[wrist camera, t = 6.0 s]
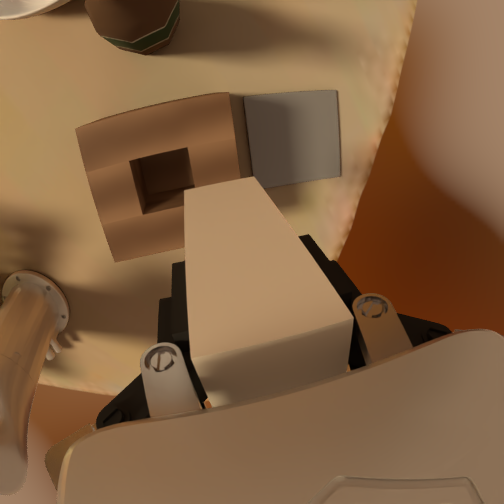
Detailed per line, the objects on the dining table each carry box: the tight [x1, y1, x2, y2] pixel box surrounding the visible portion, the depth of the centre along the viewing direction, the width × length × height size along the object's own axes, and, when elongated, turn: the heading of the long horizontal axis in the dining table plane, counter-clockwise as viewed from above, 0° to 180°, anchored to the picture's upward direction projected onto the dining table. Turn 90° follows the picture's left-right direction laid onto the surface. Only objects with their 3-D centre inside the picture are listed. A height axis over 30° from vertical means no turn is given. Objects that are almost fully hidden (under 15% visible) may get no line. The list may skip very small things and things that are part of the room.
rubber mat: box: [243, 90, 340, 189], centre depth 38 cm, size 12×12×1 cm
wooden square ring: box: [75, 92, 241, 262], centre depth 31 cm, size 14×14×10 cm
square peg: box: [184, 176, 354, 407], centre depth 13 cm, size 4×4×12 cm
